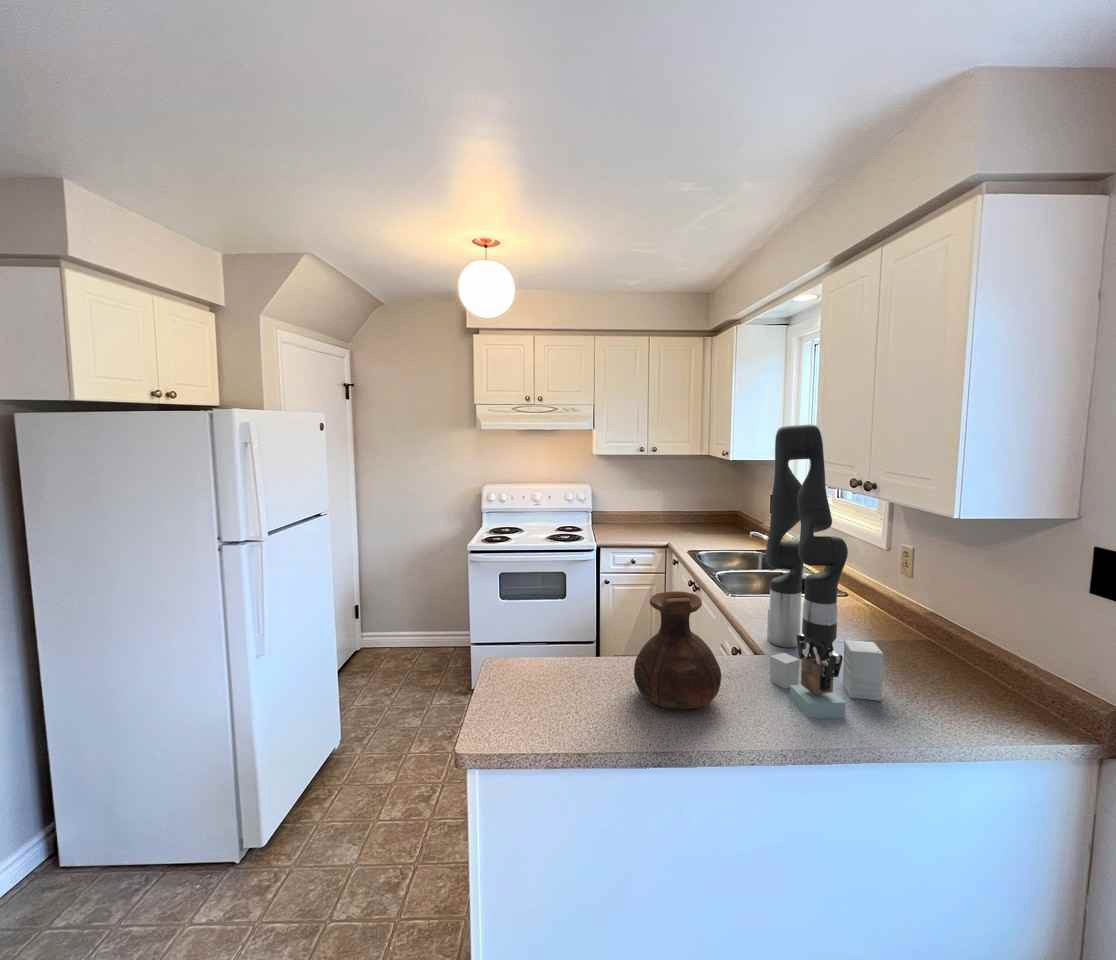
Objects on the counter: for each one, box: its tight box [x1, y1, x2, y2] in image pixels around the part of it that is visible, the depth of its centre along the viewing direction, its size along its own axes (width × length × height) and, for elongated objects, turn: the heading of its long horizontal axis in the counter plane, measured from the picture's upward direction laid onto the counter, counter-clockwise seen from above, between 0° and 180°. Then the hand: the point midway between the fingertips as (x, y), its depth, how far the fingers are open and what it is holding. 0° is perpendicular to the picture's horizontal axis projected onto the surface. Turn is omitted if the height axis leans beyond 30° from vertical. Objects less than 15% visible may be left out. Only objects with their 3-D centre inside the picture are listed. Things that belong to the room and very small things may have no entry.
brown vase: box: [633, 590, 722, 710], centre depth 133 cm, size 22×22×30 cm
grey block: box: [769, 652, 800, 689], centre depth 142 cm, size 5×5×7 cm
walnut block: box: [800, 657, 834, 695], centre depth 128 cm, size 5×5×7 cm
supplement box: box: [842, 639, 884, 702], centre depth 135 cm, size 7×7×13 cm
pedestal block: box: [789, 684, 846, 719], centre depth 129 cm, size 9×9×4 cm
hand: (817, 684), depth 129 cm, fingers closed on walnut block, 5 cm apart
